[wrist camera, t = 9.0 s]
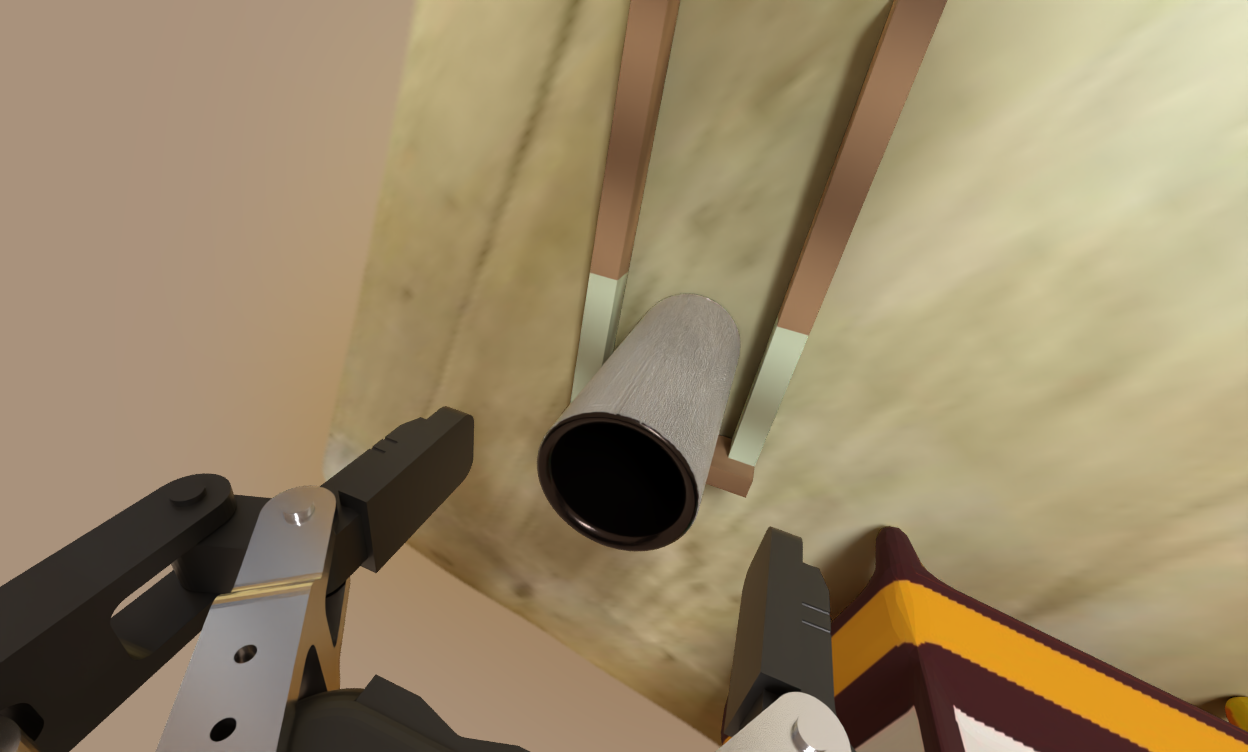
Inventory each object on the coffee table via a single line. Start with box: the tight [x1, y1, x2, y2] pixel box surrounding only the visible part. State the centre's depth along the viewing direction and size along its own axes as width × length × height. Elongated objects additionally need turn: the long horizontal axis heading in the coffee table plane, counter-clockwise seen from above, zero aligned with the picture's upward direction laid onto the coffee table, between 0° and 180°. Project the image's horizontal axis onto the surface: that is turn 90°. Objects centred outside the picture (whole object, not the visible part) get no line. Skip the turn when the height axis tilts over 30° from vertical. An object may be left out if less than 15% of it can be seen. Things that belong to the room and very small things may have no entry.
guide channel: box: [561, 0, 947, 498], centre depth 18 cm, size 18×9×2 cm, turn 169°
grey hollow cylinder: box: [537, 294, 740, 551], centre depth 17 cm, size 4×4×10 cm
